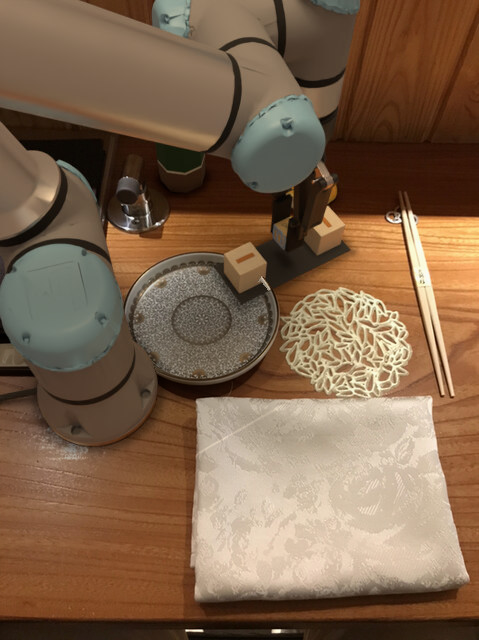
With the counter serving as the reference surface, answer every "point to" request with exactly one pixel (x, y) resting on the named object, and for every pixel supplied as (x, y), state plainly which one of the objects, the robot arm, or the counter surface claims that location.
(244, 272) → the small cardboard box
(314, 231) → the beige wooden block
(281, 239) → the alphabet block
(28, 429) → the counter surface
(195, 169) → the beer bottle
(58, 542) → the counter surface
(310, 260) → the word mat
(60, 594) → the counter surface
